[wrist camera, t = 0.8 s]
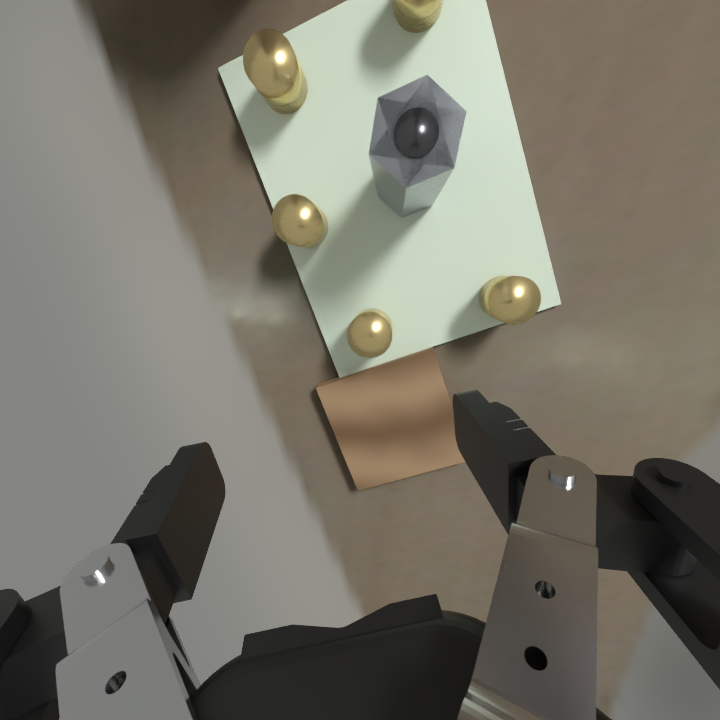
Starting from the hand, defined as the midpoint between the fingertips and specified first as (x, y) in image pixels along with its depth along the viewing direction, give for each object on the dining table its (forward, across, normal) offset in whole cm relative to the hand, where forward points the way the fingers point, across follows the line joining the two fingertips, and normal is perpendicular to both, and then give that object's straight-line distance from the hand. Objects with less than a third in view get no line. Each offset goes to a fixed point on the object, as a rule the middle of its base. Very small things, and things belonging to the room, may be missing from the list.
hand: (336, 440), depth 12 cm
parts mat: (+19, -7, -7) cm, 21 cm away
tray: (+16, -4, +10) cm, 20 cm away
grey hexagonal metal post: (+18, -8, -8) cm, 21 cm away
